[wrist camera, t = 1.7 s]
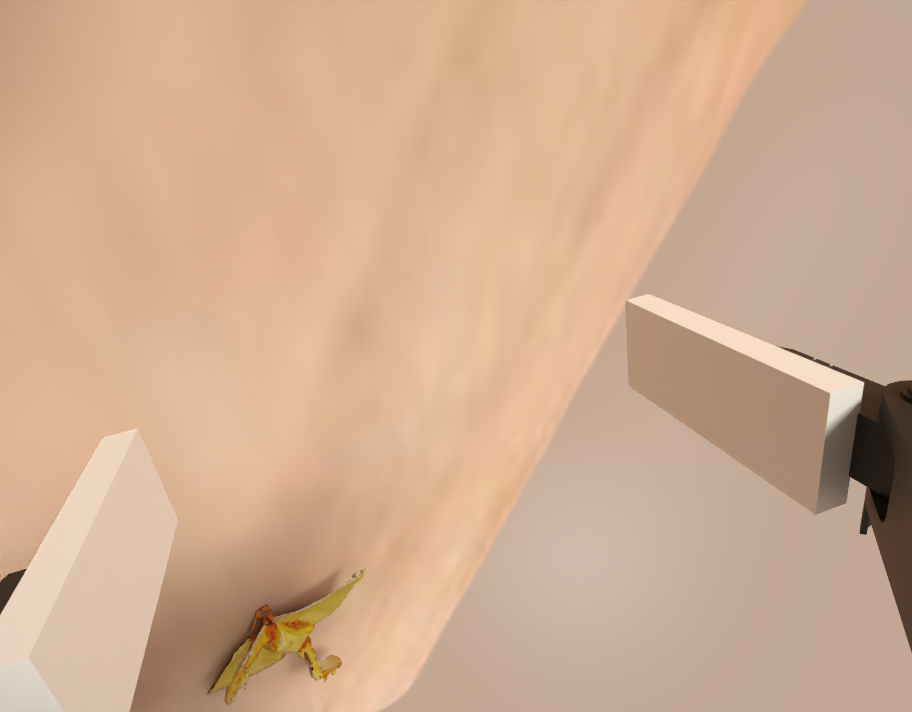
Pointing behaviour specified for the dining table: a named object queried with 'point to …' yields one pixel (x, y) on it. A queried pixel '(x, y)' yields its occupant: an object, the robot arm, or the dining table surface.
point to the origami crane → (283, 643)
